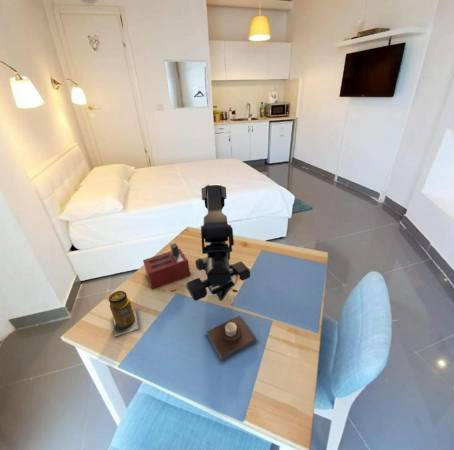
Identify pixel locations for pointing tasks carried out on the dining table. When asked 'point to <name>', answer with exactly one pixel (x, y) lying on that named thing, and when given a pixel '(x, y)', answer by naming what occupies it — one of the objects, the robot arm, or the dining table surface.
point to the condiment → (122, 313)
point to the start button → (230, 329)
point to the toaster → (166, 268)
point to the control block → (231, 338)
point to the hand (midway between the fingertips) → (220, 299)
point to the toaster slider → (174, 249)
